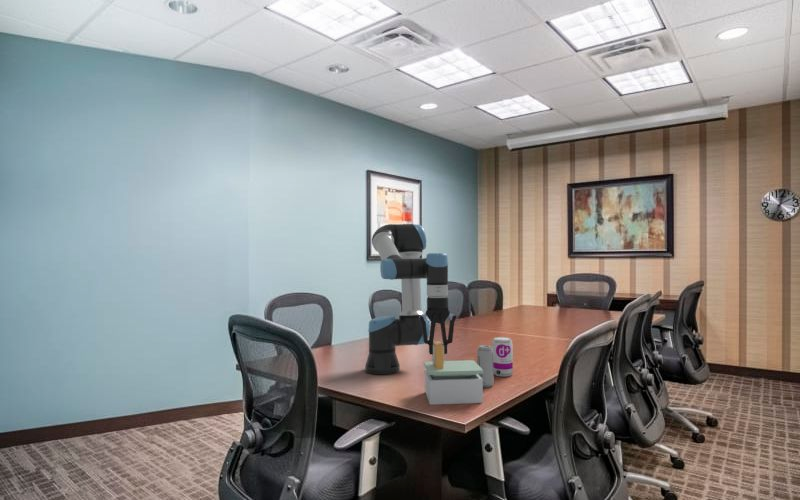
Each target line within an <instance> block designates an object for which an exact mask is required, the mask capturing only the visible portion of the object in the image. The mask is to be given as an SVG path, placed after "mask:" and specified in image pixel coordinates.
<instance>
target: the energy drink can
mask: <svg viewBox="0 0 800 500" xmlns="http://www.w3.org/2000/svg"><path fill="white" fill-rule="evenodd" d="M476 352H477V353H476V357H477V358H476V359H477V362H476V363H477V364H478V365H479V366H480V367H481V368H482V370H483V373H478V375H479V376H480V377H481V378H482V379H483V388H492V387H493V385H494V384H495V383H494V379H495V378H494V376H495V375H494V372H493V350H492V345H489V344H488V345H487V344H481V345H478V349H477V351H476Z"/></svg>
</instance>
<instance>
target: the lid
mask: <svg viewBox="0 0 800 500" xmlns="http://www.w3.org/2000/svg"><path fill="white" fill-rule="evenodd" d="M433 344H434V345H435V364H433V363H432V360H430V361H425V360H424V361H423V366H424V368H425V370H427V372H428V374H429V375H433V376H460V375H477V374H478V373H483V370H482V368H481V367H480V366H479V365H478V364H477V362H476V361H475V360H474V359H473V360H471V359H469V360H444V364H443V345H442V344H443V342H441V341H438V340H437V341H433Z"/></svg>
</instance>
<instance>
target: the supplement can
mask: <svg viewBox="0 0 800 500" xmlns="http://www.w3.org/2000/svg"><path fill="white" fill-rule="evenodd" d="M491 346H492V347H491V348H492V350H493V372H494V376H496V377H504V378H507V377H511V376H512V375H513V373H514V367H513V366H514V362H513V361H514V359H513V358H514V357H513V355H514V353H513V350H514V349H513V341H512V340H511V337H506V336H496V337H494V338H493V339H492V342H491Z"/></svg>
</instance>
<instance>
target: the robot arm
mask: <svg viewBox="0 0 800 500" xmlns="http://www.w3.org/2000/svg"><path fill="white" fill-rule="evenodd" d="M371 245H372V247H373V249H374V250H375V251H376V253H378V255H379V257H380V259H381V261H380V264H379V265H380V268H379V270H380V276H381V278H382V280H393V281H394V280H400V281H401V312H400V313H399V315H398V317H399V318H396V316H395V315H385V316H384V315H383V316H377V317H375V318H372V319H371V320H370V321H369V322H368V330H367V332H368V356H367V359H366V361H365V366H364V368H365V369H364V371H365V373H367V372H368V373H367V374H370V373H372V374H371V375H376V374H386V375H392V373H393V374H396V373H398V372H400V370H401V369H400V368H401V367H400V362H399V359H398V356H397V353H396V347H397V346H399V347H400V346H401V347H402V346H419V345H425V344H426V345H428V353H429V355H431V361H432V363H433V364H435V345H434V344H433V342H434V340H435V338H434V337H435V330H436V324H439V325H440V331H441V339H442V345H443V364H444V361H445V355H447V354H448V345H449V344H452V343H453V338H454V330H455V323H456V319H457V315H455V314H454V313H450V310H449V298H448V295H449V274H448V272H449V261H448V260H449V259H448V255H447V253H445V252H439V253H437V252H435V253H434V252H432V253H431V252H430V253H429V252H428V253H426V258H425V257H424V258H421V256H422V255H423V251H424V250H425V249H426V248H427V237H426V232H425V229H424V228H423V226H422V225H421V224H415V223H401V224H400V223H398V224H396V223H395V224H394V223H393V224H392V223H390V224H389V223H388V224H385V225H383V226H380V227H379V228H377V229H376V230H375V231H374V233H373V235H372V237H371ZM421 279H422V280H423V279H424V280H425V279H426V296H427V297H426V309H425V310H426V311H425V312H424V311H423V310H422V290H421V289H422V288H421V286H422V285H421ZM448 317H449V324H448V325H449V326H448V327H449V328H448V335H447V331H446V323H445V322H446V320H447V319H448Z"/></svg>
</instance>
